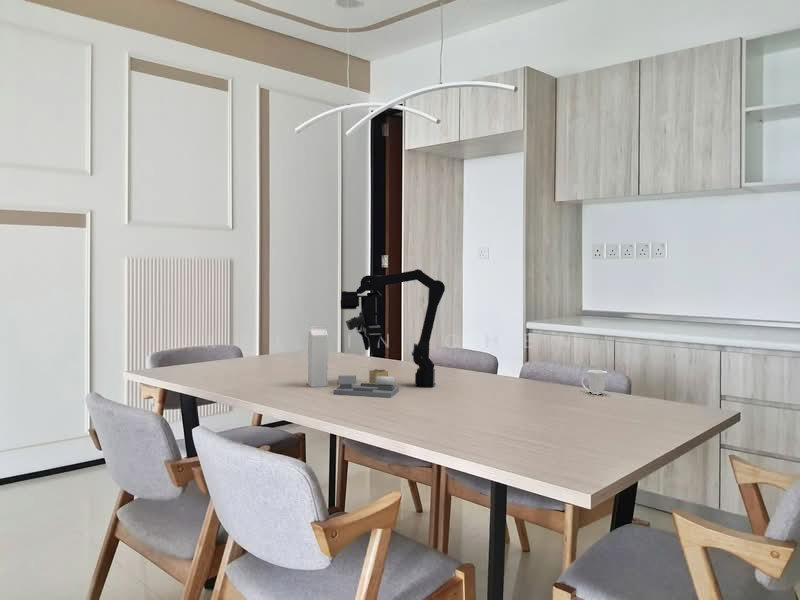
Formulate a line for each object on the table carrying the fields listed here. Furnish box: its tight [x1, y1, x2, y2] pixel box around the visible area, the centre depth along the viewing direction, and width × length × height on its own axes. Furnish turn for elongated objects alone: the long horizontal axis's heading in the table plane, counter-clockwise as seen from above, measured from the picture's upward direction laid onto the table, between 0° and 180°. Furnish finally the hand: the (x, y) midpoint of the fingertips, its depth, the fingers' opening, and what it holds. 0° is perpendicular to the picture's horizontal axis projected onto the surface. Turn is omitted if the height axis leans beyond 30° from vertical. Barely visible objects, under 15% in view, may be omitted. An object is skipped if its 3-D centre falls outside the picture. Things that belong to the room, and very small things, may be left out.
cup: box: [580, 369, 609, 395], centre depth 228 cm, size 7×10×8 cm
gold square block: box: [368, 368, 389, 383], centre depth 234 cm, size 5×5×6 cm
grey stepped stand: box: [333, 374, 400, 399], centre depth 222 cm, size 20×12×6 cm, turn 77°
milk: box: [307, 325, 329, 388], centre depth 234 cm, size 6×6×22 cm
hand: (369, 351), depth 238 cm, fingers open, 9 cm apart
